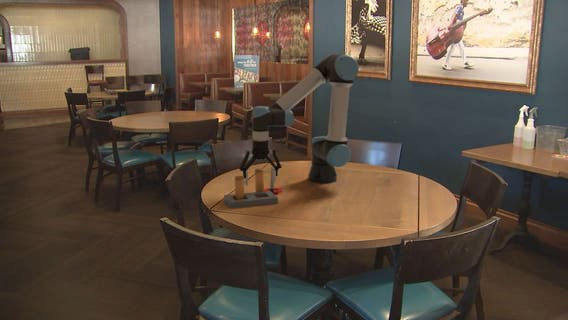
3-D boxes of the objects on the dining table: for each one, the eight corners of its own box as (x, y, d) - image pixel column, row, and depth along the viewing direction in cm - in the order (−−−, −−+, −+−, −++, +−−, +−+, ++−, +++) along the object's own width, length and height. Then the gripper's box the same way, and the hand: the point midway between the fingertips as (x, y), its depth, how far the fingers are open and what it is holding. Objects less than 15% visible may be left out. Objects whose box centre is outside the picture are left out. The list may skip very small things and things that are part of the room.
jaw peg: (262, 192, 236) (262, 167, 233) (264, 194, 232) (264, 169, 229) (254, 192, 235) (254, 168, 232) (256, 195, 231) (256, 170, 228)
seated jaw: (243, 201, 222) (242, 175, 219) (245, 203, 218) (244, 177, 215) (234, 202, 220) (233, 176, 218) (236, 204, 217) (235, 178, 214)
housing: (270, 195, 230) (270, 190, 229) (278, 203, 219) (278, 197, 218) (224, 200, 223) (223, 195, 222) (229, 208, 212) (229, 202, 211)
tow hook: (265, 189, 242) (262, 194, 233) (265, 164, 240) (262, 167, 231) (282, 190, 241) (280, 194, 232) (282, 164, 239) (280, 168, 230)
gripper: (283, 137, 235) (282, 180, 240) (232, 139, 227) (232, 183, 232) (288, 139, 228) (287, 183, 233) (236, 142, 220) (236, 187, 225)
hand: (260, 183), depth 232 cm, fingers open, 13 cm apart
